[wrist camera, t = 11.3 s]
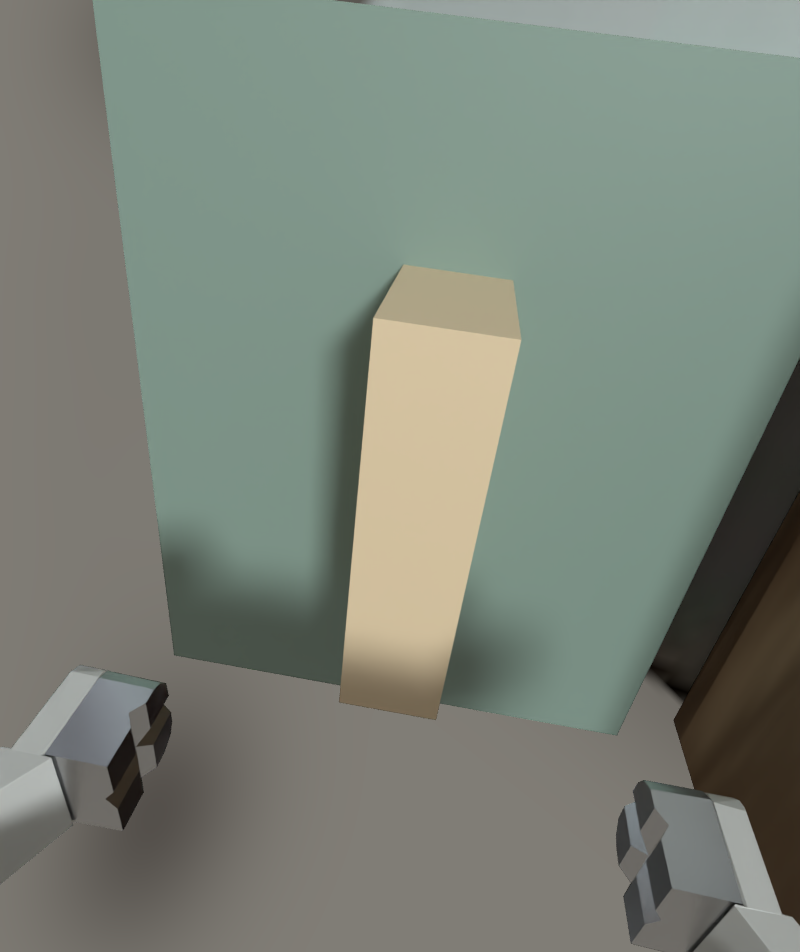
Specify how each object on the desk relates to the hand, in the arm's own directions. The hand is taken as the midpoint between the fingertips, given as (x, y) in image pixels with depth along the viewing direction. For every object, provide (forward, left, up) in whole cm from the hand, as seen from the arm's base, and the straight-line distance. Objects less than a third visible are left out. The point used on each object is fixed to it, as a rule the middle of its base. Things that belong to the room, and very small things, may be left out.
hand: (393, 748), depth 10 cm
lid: (0, 0, -12) cm, 12 cm away
